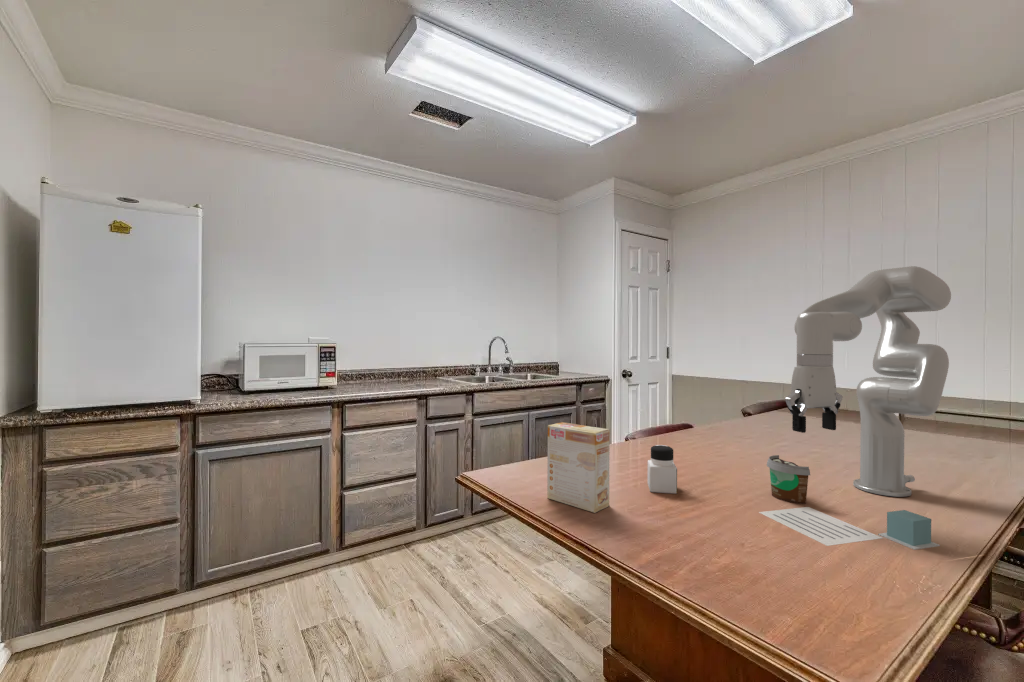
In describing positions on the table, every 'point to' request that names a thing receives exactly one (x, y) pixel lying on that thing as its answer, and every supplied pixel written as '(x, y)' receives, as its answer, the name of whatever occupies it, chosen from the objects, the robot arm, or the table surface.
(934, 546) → the mat
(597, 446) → the coffeecake box
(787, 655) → the table surface
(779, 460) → the food container
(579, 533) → the table surface
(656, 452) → the medicine bottle
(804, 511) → the letter
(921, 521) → the teal block
